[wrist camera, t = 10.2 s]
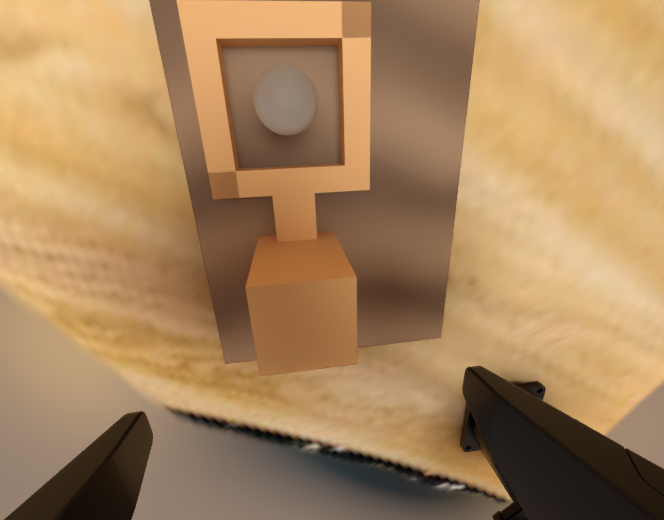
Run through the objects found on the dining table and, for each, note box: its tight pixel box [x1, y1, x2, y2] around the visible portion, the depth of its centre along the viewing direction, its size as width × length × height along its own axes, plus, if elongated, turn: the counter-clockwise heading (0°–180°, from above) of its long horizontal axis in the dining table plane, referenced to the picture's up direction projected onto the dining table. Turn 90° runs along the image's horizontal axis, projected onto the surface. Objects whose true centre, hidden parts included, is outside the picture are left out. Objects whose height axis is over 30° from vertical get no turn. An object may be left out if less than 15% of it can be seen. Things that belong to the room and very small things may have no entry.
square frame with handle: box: [177, 0, 371, 376], centre depth 13 cm, size 14×7×6 cm, turn 2°
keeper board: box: [149, 0, 480, 364], centre depth 14 cm, size 20×14×7 cm
